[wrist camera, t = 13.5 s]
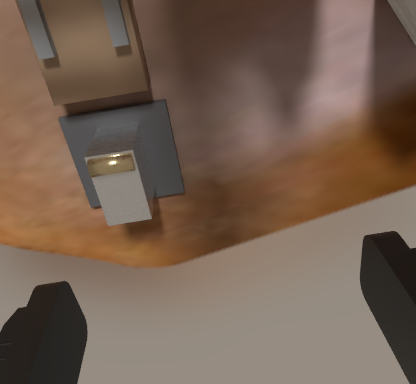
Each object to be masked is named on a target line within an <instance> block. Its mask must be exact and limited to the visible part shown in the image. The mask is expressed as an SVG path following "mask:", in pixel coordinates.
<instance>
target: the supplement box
mask: <svg viewBox="0 0 416 384" xmlns="http://www.w3.org/2000/svg"><path fill="white" fill-rule="evenodd" d="M387 1H388V3H389V4H390V6H391V8H392V9H393V11H394V12H395V14H396V15H397V17H398V19H399V20H400V22H401V23H402V25H403V26H404V28H405V30H406V31H407V33H408V34H409V36H410V38H411V39H412V41H413V42H414V44H415V45H416V0H387Z"/></svg>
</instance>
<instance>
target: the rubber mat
mask: <svg viewBox="0 0 416 384" xmlns="http://www.w3.org/2000/svg"><path fill="white" fill-rule="evenodd" d="M58 120H59V122H60V125H61V128H62V131H63V133H64V136H65V139H66V141H67V144H68V147H69V149H70V152H71V155H72V157H73V160H74V163H75V166H76V168H77V171H78V174H79V176H80V179H81V182H82V184H83V187H84V190H85V192H86V195H87V198H88V201H89V203H90V206H91V208H92V207H98V206H101V203H100V201H99V198H98V195H97V192H96V189H95V186H94V184H93V181H92V178H91V176H90V175H89V172H88V168H87V164H86V161H85V158H84V157H85V155H86V153H87V151H88V148H89V146H90V144H91V141H92V139H93V137H94V134H95V132H96V130H97V129H98V128H104V127H110V126H116V125H122V124H128V123H134V122H139V124H140V128H141V132H142V136H143V140H144V144H145V148H146V152H147V155H148V159H149V163H150V167H151V171H152V175H153V179H154V183H155V190H154V197H160V196H167V195H173V194H179V193H185V191H184V185H183V180H182V176H181V171H180V166H179V161H178V157H177V152H176V147H175V142H174V138H173V133H172V128H171V123H170V119H169V114H168V109H167V104H166V100H159V101H153V102H147V103H141V104H135V105H129V106H123V107H117V108H111V109H105V110H99V111H93V112H86V113H80V114H74V115H68V116H62V117H60V118H59V119H58Z"/></svg>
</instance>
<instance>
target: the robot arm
mask: <svg viewBox="0 0 416 384" xmlns="http://www.w3.org/2000/svg"><path fill="white" fill-rule="evenodd" d="M360 284H361V289H362V293H363V295H364V298H365V300H366V302H367V304H368V306H369V307H370V310H371V311H372V313H373V315H374V317H375V319H376V321H377V323H378V325H379V327H380V328H381V330H382V332H383V334H384V336H385V338H386V340H387V342H388V343H389V345H390V347H391V349H392V351H393V353H394V355H395V357H396V359H397V360H398V362H399V364H400V366H401V368H402V370H403V372H404V374H405V376H406V377H407V379H408V381H409V383H410V384H416V248H412V249H410V248H409V247H408V245H407V244H406V243H405V241H404V240H403V239H402V238H401V236H400V235H399V234H398V233H397V232H395V231H390V232H384V233H377V234H371V235H366V236H364V239H363V246H362V257H361V269H360ZM86 342H87V324H86V319H85V317H84V315H83V312H82V310H81V308H80V306H79V304H78V302H77V299H76V297H75V295H74V293H73V291H72V289H71V287H70V285H69V283H68V282H66V281H62V282H56V283H50V284H43V285H38V286H36V287H35V288H34V290H33V292H32V295H31V297H30V300H29V302H28V304H27V307H23V308H18V309H17V310H16V312H15V313H14V314H13V315H12V316H11V317H10V318H9V320H8V321H7V322H6V323H5V324H4V326H3V328H2V330H1V332H0V384H77V382H78V378H79V373H80V369H81V364H82V360H83V355H84V351H85V347H86Z"/></svg>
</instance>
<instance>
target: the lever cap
mask: <svg viewBox="0 0 416 384" xmlns="http://www.w3.org/2000/svg"><path fill="white" fill-rule="evenodd" d="M84 158H85V161H86V164H87V168H88V172H89V175H90V176H91V178H92V181H93V184H94V186H95V189H96V192H97V195H98V198H99V201H100V203H101V206H102V209H103V212H104V215H105V218H106V221H107V223H108V226H110V225H117V224H123V223H129V222H136V221H142V220H148V219H152V212H153V201H154V190H155V183H154V179H153V175H152V171H151V167H150V163H149V159H148V155H147V152H146V148H145V144H144V140H143V136H142V132H141V128H140V124H139V122H134V123H128V124H122V125H116V126H110V127H104V128H98V129H97V130H96V132H95V134H94V137H93V139H92V141H91V144H90V146H89V148H88V151H87V153H86V155H85V157H84Z"/></svg>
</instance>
